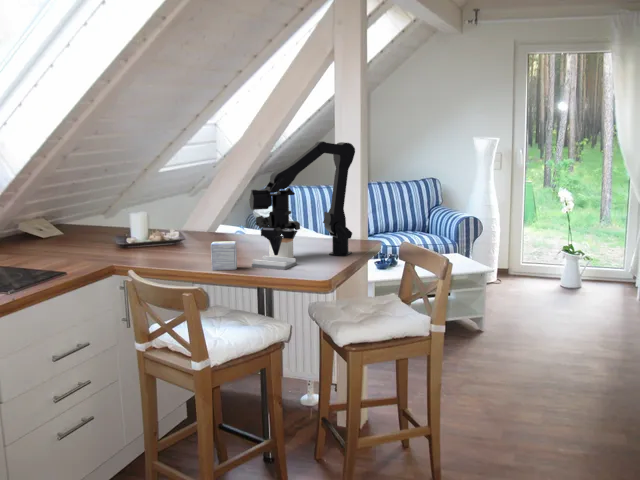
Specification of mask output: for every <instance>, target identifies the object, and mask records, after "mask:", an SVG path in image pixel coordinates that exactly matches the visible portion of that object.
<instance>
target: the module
mask: <svg viewBox="0 0 640 480" xmlns="http://www.w3.org/2000/svg"><path fill="white" fill-rule="evenodd" d="M268 247H269V248H268V250H269V253H268V254H269V255H268V256H273V257H285V258H294V239H288V238H282V242H281V245H280V249H279V253H278V255H274V252H273V249H272V246H271V243H270V241H269V240H268Z"/></svg>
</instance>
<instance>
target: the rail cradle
mask: <svg viewBox="0 0 640 480" xmlns="http://www.w3.org/2000/svg"><path fill="white" fill-rule="evenodd" d="M296 260H297V258H295V257H293V258H285V257H273V256H269V255H263V256H262V259H252V263H251V267H252V268H258V267H259V269H260V268H261V269H269V268H270V270H283V271H285V270H287V269H290V268H292V267H294V266H296V265H298V263H297V262H298V261H296Z"/></svg>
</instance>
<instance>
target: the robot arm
mask: <svg viewBox="0 0 640 480" xmlns="http://www.w3.org/2000/svg"><path fill="white" fill-rule="evenodd" d="M324 154H327V155H328V154H329V155H333V156H332V157H333V162H334V167H335V170H334V177H333V178H334V179H333V188H332V195H331V196H332V197H331V203H330V204H331V205H330V208H329V211H324V213H323V214H324V216H323V218H324V219H323V221H322V223H323V224H324V229H326V231H327V232H328V233H329V236H331V237H332V239H331V240H332V241H331V243H332V251H331V252H329V253H328V255H329V256H341V257H347V256H349V255H351V254H352V253H353V252H352V251H349V240H350V239H352V236H353V232H352V231H351V230H350V229H349V228H348V227H347V223H346V221H347V218H346V214H345V209H344V208H345V201H346V192H347V184H348V175H349V169H350V167H351V166H352V163H353V161H354V158H355V154H356V148H355V146H354V145H353V144H352V143H350V142H344V141H343V142H338V143H331V142H325V141H322V140H320V141H317V142H315V144H313V145H312V146H311V147H310V148H308V150H306V151H305V152H303V154H301V155H300V156H298V157H297V158H296V159H295V160H294V161H292V162H291V163H290V164H288V165H286V166H284V167H282V168H280V169H276V171H274V172H273V173H271V174H270V177H269V182H268V183H267V185H266V186H265V187H264V189H251V190H250V196H249V200H248V201H249V207H250V209H251V211H252V210H253V211H258V210H269V208H271V207H272V209H271V211H269V212H268V213H269V214H268V215H269V216H265V217H264V216H263V215H260V216H257V217H256V218H255V226H257V227H258V229H259V230H260V236H261V237H264V238H265V239H267V240H268V242H269V241H270V243H271V246H272V249H273V252H274V255H278V253H279V249H280V245H281V242H282V238H288V239H293V240H294V238H295V237H296V235H297V233H298V230H301V224H300V222H299V221H298V220H290V215H291V214H292V210H290V204H289V203H290V200H289V198H290V196H294V195H296V193H295V192H294V191H293V190H292V189H291V188H289V187H290V185H291V184H292V183H293V182H294V181H295V179H296V177H297V176H298V175H299V174H300V173H301V172H302V171H303V170H305V169H306V168H307V167H308V166H310V165H311V164H312V163H314V162H315V161H316V160H317V159H318V158H320V157H321V156H322V155H324Z"/></svg>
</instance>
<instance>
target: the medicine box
mask: <svg viewBox="0 0 640 480" xmlns="http://www.w3.org/2000/svg"><path fill="white" fill-rule="evenodd" d="M237 249H238V248H237V241H233V240H232V241H212V243H211V244H210V255H211V256H210V257H211V260H210V261H211V271H220V270H221V271H223V270H224V271H226V270H228V271H229V270H230V271H231V270H233V271H235V270H236V271H237V269H238V254H237V252H238V250H237Z"/></svg>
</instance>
